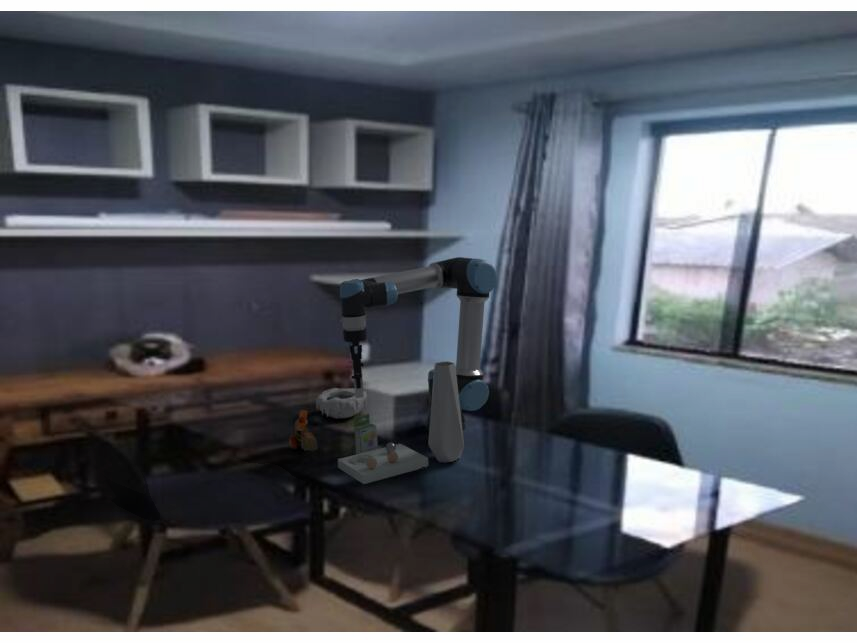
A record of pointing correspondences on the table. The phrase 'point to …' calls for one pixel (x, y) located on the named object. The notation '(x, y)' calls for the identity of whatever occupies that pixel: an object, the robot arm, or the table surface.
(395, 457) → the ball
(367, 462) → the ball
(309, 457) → the table surface
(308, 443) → the toy helicopter
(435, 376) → the vase
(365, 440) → the ink box
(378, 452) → the white tray
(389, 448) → the steel ball
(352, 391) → the bowl
